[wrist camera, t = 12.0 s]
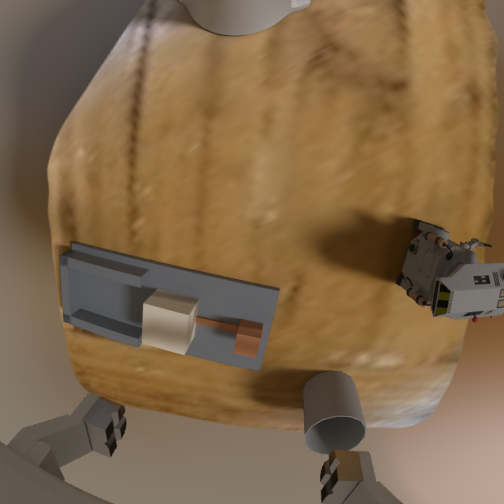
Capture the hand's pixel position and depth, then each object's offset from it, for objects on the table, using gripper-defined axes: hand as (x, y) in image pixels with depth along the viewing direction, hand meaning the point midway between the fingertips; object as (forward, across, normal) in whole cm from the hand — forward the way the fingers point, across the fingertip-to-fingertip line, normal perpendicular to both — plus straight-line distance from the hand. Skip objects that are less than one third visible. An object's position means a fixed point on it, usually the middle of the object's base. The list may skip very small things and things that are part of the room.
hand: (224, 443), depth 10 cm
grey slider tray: (+31, +13, +12) cm, 36 cm away
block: (+30, +6, +12) cm, 33 cm away
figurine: (+31, -22, -3) cm, 38 cm away
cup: (+31, -14, +21) cm, 40 cm away
